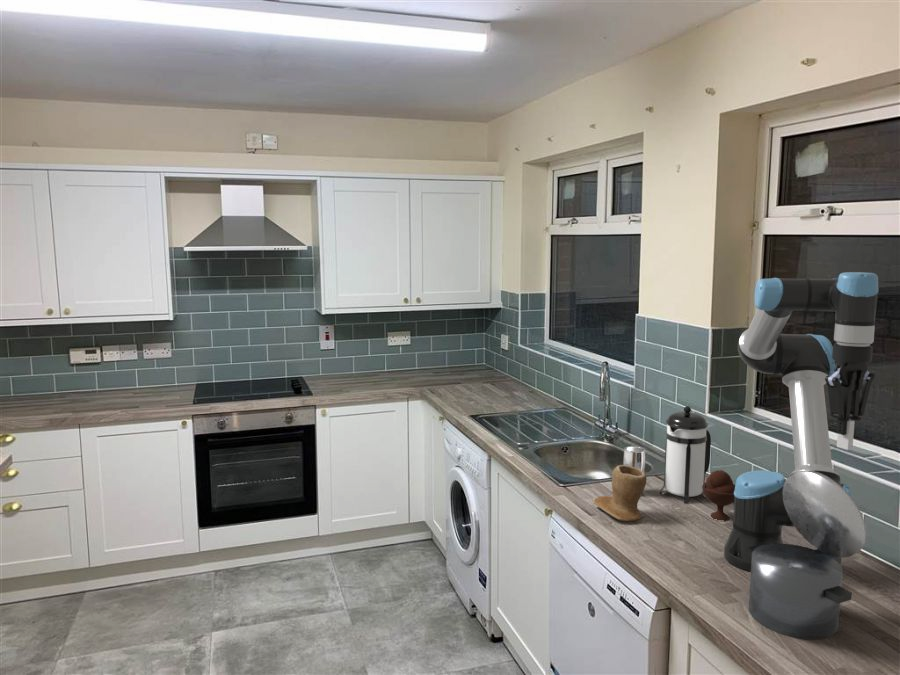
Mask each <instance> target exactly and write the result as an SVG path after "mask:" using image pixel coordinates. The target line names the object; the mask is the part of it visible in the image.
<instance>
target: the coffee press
mask: <svg viewBox="0 0 900 675" xmlns="http://www.w3.org/2000/svg"><path fill="white" fill-rule="evenodd" d="M691 411H692V408H691V407H690V406H688V405H687V406H685V407H684V408H683V411H677V412H673V413H672V414H670V415H669V416H668V417H667V419H666V420H665V424H666V431H665V449H664V450H665V451H664V472H663V474H664V475H663V486H662V487H661V488H660V489H659V493H660V494H661V493H662V491H663V489H664V488H665V490H664V495H665V494H666V493H670V494H672V495H675V496H679V497H683V504H690V497H697V496H699V495H701V496H702V497H703V495H704V493H703V489H702V486H703V483H705V482H706V481H705V478H706V473H707V472H708V471H709V468H710V464H711V463H710V461H711V451H712V450H711V445H712V439H711V438H712V435H711V433H710V431H709V430H707V429H708V427H709V423H708V422H707V420H706V418H705V417H704V416H703V415H701V414H699V413H695V412H691Z"/></svg>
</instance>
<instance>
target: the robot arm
mask: <svg viewBox="0 0 900 675" xmlns="http://www.w3.org/2000/svg"><path fill="white" fill-rule="evenodd" d="M879 290H880V289H879V276H878V275H877V273H874V272H865V271H864V272H863V271H862V272H861V271H859V272H858V271H857V272H856V271H852V272H851V271H849V272H848V271H847V272H846V271H845V272H841V273H840V274H839V275H838V277H834V278H778V277H772V278H761V279H759V280H758V281H757V282H756V285H755V289H754V306H755V308H756V311H755V314H754V316H753V318H752V320H751V322H750V324H749V327H748V328H747V329H745V330H744V331H743V332H742V333H741V335H740V337H739V339H738V343H737V352H738V354H739V356H740V357H739V358H740V359H741V360H742V361H743V362H744V363H745V364H746V365H747V366H748V367H749V368H751V369H752V370H754V371H756V372H759V373H760V374H766V375H775V376H776V375H778V376H779V375H780V376H781V381H782V383H783V385H785V386H786V387H788V394H789V405H790V406H789V407H790V409H789V410H790V418H791V431H792V432H791V433H792V443H793V444H792V445H793V457H794V467H795V468H794V470H793V471H792V472H790V473H789V476H791V475H792V474H794V473H796V472H799V471H803V470H810V471H815V472H818V473H821V474H823V475H825V476H827V477H829V478H831V479H832V480H834V481H835V482H836V483H838V484H839V485H840V486H841V487H842V488H843V489H844V490H845V491H846V492H847V493H848V494H849V495H850V496H851V497H852V492H851V490H850V486H849V485H848V484H846V483H841V477H840V474H839V473H838V472H836V471H835V470H834V469H833V465H832V464H833V462H832V453H831V444H830V435H829V424H828V415H827V405H826V397H825V387H824V386H825V385H827V392H828V403H829V411H830V412H829V413H830V417H832V418H834V419H837V427H836V428H837V429H836V433H837V439H836V447H837V448H840V449H843V450H846V451H849V450H853V445H854V436H855V435H854V434H855V430H856V421H857V422H859V421H861V420H862V417H863V416H864V414H865V410H866V405H867V402H868V398H869V395H870V394H869V393H870V390H871V386H872V383H873V382H874V379H875V377H876V374H875V373H873V372H869V371H868V368H869V367H868V364H870V363H871V362H872V361H873V353H874V352H873V350H874V346H872V345H871V344H873V343H874V341H875V339H874V338H875V326H876V324H875V323H876V314H877V304H878V295H879ZM793 311H794V312H835V319H834V333H833V341H835V342H834V344H832V342H831V341H830V339H828V337H826V336H825V335H821V334H813V333H807V334H800V333H799V334H796V333H794V334H791V333H782V332H783V329H784V327H785V326H786V324H787V322H788V320H789V319H790V316H791V315H792V313H793ZM786 480H787V478H785V475H784V474H782V473H780V472H777V471H772V470H766V469H765V470H763V469H761V470H758V469H757V470H751V471H747V472H744V473H742V474H740V475H738V477H737V478H736V481H735V491H734V496H735V497H734V503H733V518H732V528H731V531H730V534H729V536H728V537H727V540H726V542H725V544H724V548H723V550H724V551H723V552H724V553H723V556H724V559H725V560H726V561H727V562H728V563H730V565H732V566H734V567H736V568H739V569H742V570H745V571H748V572H751V562H752V557H750V556H748V555H747V554H746V550H747V548H749V547H753V546H757V545H760V546H761V545H766V544H776V543H779V544H784V541H783V538H782V532H783V531H782V530H783V527H790V528H791V527H792V528H795V526H794V525H793V523H792V521H791V520H790V518H789V516H788V514H787V511H786V509H785V506H784V502H783V486H784V483H785V481H786Z"/></svg>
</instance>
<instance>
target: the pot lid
mask: <svg viewBox="0 0 900 675" xmlns="http://www.w3.org/2000/svg"><path fill="white" fill-rule="evenodd" d="M783 502H784V506H785V509H786V511H787V514H788V516H789V518H790V520H791V521H792V523H793V525H794V526H795V527H794V528H795V529H796V530H797V531H798V533H799V534H800V535H801V536H802V537H803V539H805V541H807V543H809V544H810V545H811V546H813V548H815V549H819V550H820V551H822V552H824V553H826V554H828V555H831V556H834V557H840V558H841V559H842V558H843V559H844V558H850V557H852V556H854V555H856V554H857V553H859V552H860V551H861V550H862V549H863V547H864V545H865V544H866V541H867V540H866V539H867V528H866V522H865V519H864V517H863V514H862V512H861V510H860V508H859V506H858V505H857V503H856V502H855V500H854V499H853V498H852V495H851V496H850V495H849V494H848V493H847V492H846V491H845V490H844V489H843V488H842V487H841V486H840V485H839V484H838V483H836V482H835V481H834V480H832V479H831V478H829V477H827V476H825V475H823V474H821V473H818V472H815V471H810V470H803V471H799V472H796V473H794V474H792V475H791V476H790V475H789V476H788V477H787V478H786V481H785V483H784V486H783Z"/></svg>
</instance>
